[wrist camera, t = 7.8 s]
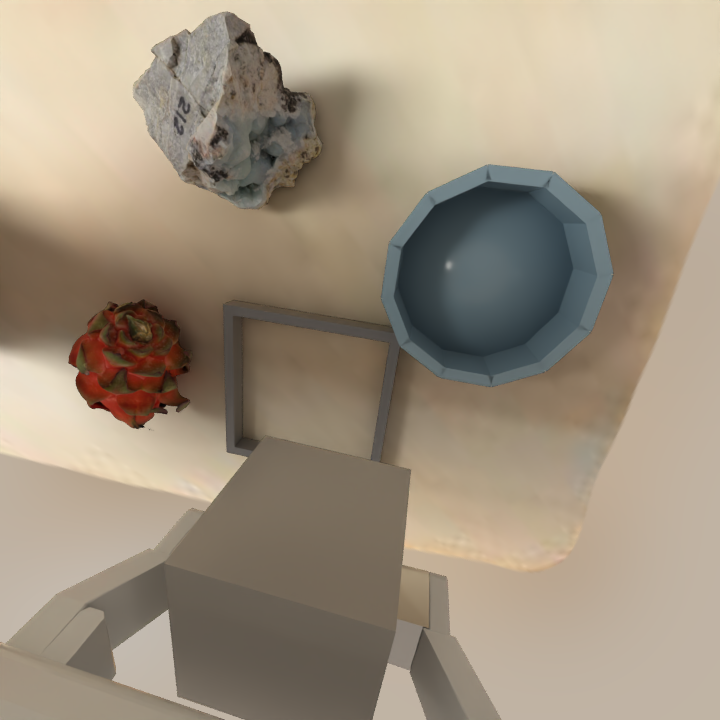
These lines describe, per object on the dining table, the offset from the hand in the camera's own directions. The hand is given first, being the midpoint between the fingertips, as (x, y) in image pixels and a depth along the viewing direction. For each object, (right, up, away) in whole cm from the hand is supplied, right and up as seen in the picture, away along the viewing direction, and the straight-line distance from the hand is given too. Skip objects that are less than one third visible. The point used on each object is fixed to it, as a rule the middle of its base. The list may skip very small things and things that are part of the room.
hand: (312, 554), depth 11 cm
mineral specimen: (-7, +22, +15) cm, 27 cm away
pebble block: (0, +1, +2) cm, 2 cm away
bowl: (+10, +12, +15) cm, 22 cm away
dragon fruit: (-17, +7, +22) cm, 29 cm away
